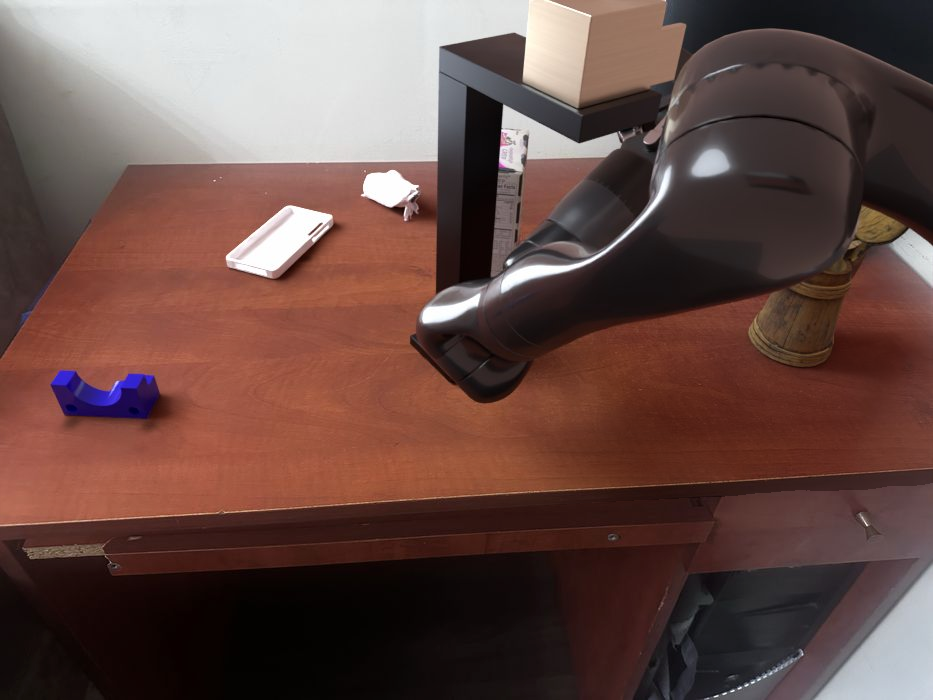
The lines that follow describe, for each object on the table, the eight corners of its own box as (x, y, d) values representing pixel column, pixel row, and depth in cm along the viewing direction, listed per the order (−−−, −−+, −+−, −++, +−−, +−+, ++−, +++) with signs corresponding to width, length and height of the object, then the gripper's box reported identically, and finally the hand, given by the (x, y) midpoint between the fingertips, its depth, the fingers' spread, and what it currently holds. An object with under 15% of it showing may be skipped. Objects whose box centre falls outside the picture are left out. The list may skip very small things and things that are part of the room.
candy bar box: (482, 243, 95) (489, 125, 85) (519, 247, 95) (531, 129, 84) (473, 290, 87) (479, 166, 76) (513, 294, 86) (525, 170, 76)
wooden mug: (876, 347, 81) (951, 207, 70) (785, 375, 77) (849, 230, 65) (819, 304, 88) (879, 168, 76) (732, 327, 83) (782, 187, 72)
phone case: (288, 213, 100) (225, 267, 89) (287, 204, 99) (223, 257, 88) (335, 223, 98) (276, 280, 87) (334, 215, 97) (274, 271, 86)
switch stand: (519, 449, 67) (573, 25, 43) (409, 343, 79) (403, -39, 54) (615, 396, 73) (710, -1, 49) (501, 305, 85) (532, -54, 60)
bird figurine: (428, 215, 103) (378, 179, 106) (431, 180, 98) (379, 143, 100) (405, 232, 101) (355, 195, 104) (407, 199, 95) (354, 160, 98)
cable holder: (160, 393, 71) (150, 363, 68) (147, 418, 68) (136, 388, 66) (80, 390, 71) (67, 360, 68) (64, 415, 68) (50, 384, 66)
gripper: (660, 222, 55) (810, 76, 57) (543, 155, 63) (677, 29, 65) (673, 276, 61) (809, 142, 63) (565, 208, 69) (687, 92, 71)
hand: (741, 85), depth 64 cm, fingers closed
